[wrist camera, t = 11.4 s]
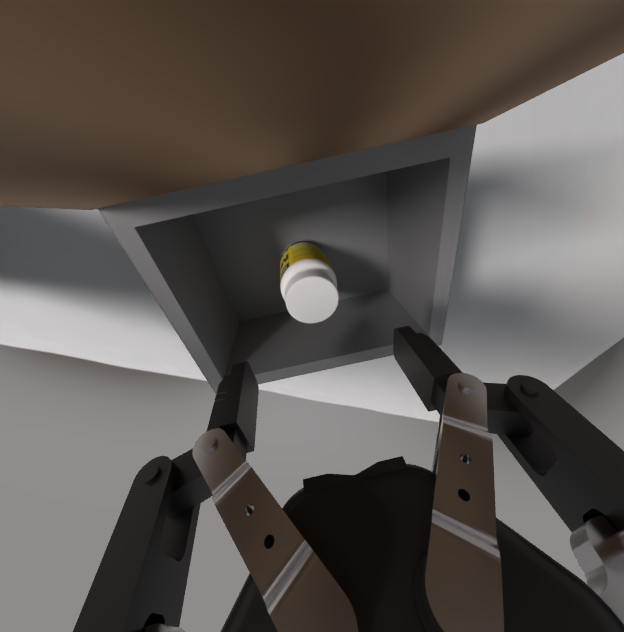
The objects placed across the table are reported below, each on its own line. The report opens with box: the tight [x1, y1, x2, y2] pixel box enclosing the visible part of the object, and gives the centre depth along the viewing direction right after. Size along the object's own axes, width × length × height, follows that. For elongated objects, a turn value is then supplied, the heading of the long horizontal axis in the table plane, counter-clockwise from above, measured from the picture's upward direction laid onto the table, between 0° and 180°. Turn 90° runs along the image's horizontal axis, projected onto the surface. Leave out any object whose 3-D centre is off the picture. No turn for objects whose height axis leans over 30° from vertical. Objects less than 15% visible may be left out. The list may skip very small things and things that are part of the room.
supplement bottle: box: [280, 240, 339, 323], centre depth 21 cm, size 5×5×8 cm
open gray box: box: [98, 124, 477, 393], centre depth 20 cm, size 20×15×10 cm
